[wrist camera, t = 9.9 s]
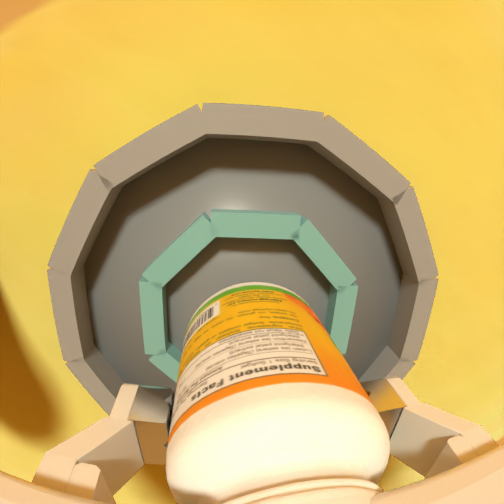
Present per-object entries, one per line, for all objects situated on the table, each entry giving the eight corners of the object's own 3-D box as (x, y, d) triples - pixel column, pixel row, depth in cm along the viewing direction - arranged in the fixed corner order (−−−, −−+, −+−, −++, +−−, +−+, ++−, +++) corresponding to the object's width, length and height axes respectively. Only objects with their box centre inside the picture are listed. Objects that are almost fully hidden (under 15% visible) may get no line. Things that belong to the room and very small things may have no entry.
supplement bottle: (316, 382, 14) (401, 570, 4) (197, 397, 13) (193, 606, 4) (316, 269, 12) (487, 465, 3) (174, 285, 12) (100, 536, 2)
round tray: (426, 142, 14) (454, 140, 12) (371, 421, 19) (384, 444, 17) (69, 119, 13) (45, 112, 10) (101, 424, 17) (92, 449, 15)
